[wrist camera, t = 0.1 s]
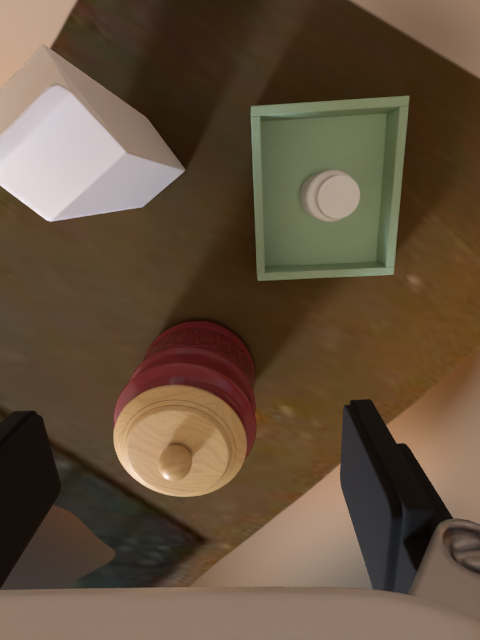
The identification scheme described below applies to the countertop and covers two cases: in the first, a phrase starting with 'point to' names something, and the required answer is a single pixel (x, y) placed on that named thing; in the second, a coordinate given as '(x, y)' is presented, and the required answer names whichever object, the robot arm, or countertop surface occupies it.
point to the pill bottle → (330, 195)
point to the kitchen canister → (188, 411)
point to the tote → (317, 156)
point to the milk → (76, 144)
